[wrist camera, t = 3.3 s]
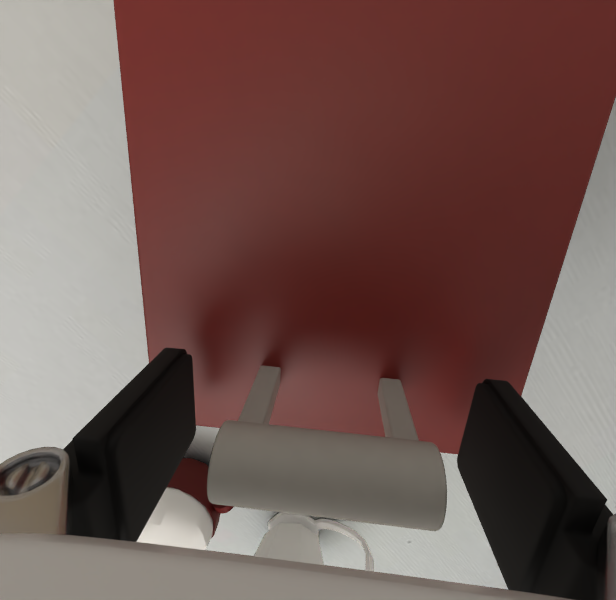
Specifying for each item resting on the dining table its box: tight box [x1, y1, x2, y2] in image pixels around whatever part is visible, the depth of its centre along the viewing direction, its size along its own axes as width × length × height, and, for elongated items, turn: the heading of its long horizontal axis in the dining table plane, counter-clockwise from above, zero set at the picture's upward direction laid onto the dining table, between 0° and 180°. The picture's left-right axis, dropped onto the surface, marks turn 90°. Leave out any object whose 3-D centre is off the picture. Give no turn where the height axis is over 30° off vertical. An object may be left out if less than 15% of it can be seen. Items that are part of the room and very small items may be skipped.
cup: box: [254, 512, 374, 572], centre depth 25 cm, size 7×10×8 cm
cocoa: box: [136, 458, 234, 550], centre depth 22 cm, size 10×6×12 cm, turn 84°
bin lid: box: [114, 0, 616, 531], centre depth 8 cm, size 14×13×6 cm
